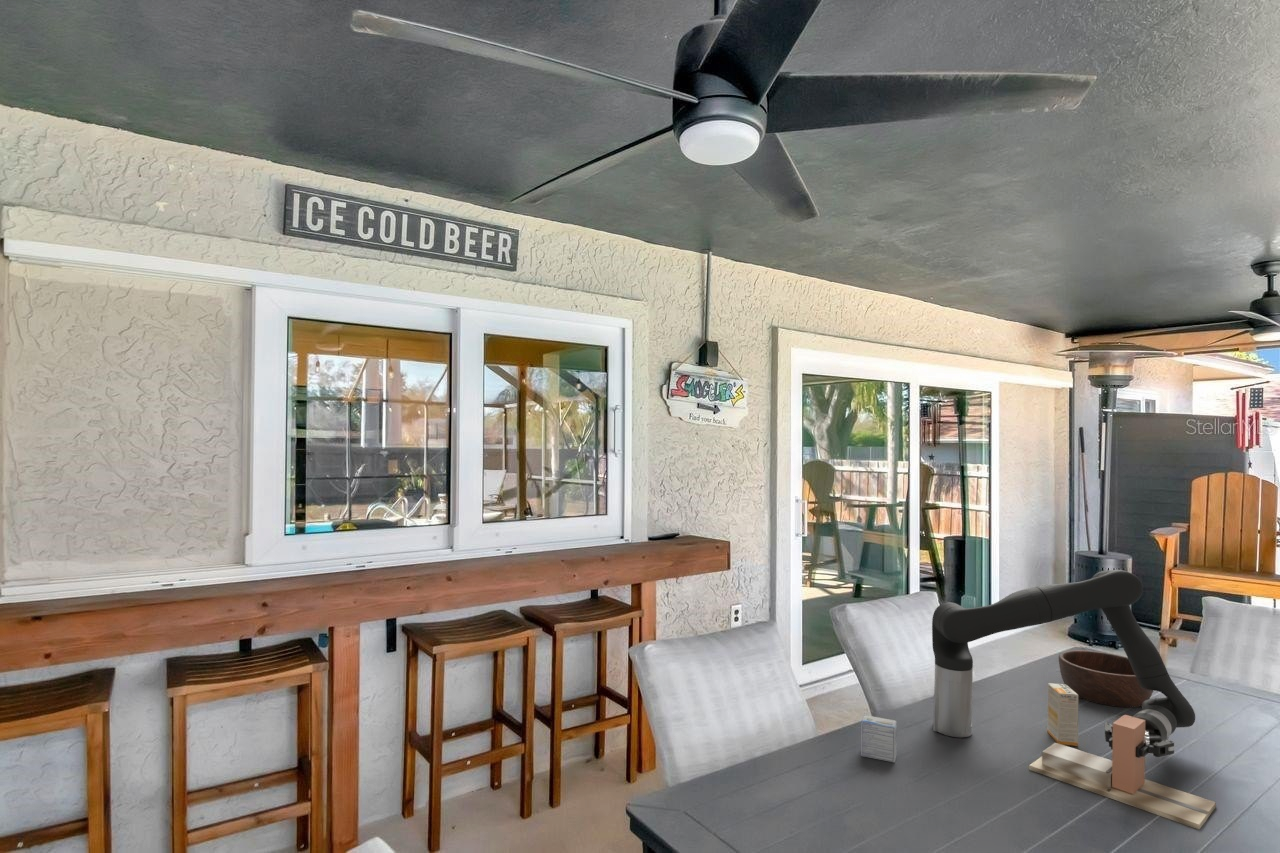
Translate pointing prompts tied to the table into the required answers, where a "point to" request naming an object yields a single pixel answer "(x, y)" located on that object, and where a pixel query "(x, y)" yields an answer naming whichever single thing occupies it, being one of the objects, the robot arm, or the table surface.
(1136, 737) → the salmon orange block
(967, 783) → the table surface
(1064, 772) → the wooden base board
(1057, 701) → the supplement box
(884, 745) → the medicine box
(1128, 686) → the wooden bowl
